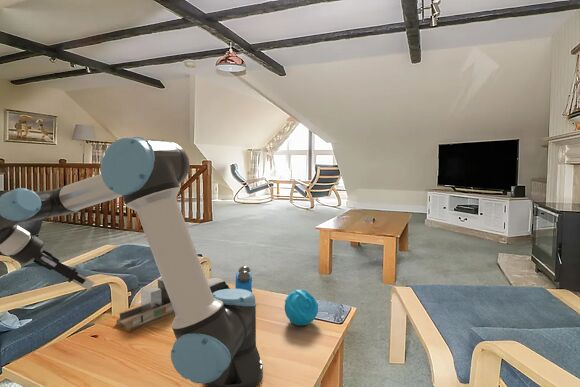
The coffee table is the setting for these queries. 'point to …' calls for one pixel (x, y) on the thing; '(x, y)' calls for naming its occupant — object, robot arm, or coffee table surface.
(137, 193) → the robot arm
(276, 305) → the coffee table surface
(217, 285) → the miniature car
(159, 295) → the carriage
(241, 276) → the alarm clock
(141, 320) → the frame
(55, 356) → the coffee table surface
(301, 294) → the blue round piece
